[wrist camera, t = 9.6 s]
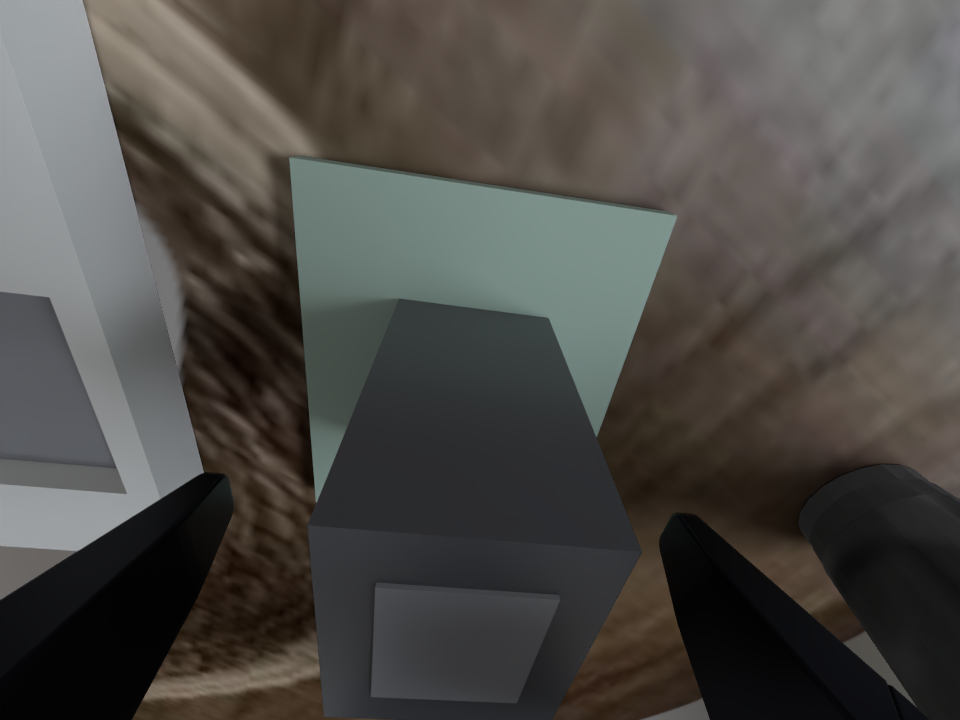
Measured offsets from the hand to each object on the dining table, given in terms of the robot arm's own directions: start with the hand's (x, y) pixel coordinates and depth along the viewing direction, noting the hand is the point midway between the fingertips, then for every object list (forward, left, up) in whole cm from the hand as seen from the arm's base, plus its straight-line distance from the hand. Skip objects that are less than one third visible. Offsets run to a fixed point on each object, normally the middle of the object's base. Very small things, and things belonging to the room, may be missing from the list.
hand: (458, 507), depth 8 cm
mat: (0, 0, -5) cm, 5 cm away
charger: (0, 0, -4) cm, 4 cm away
